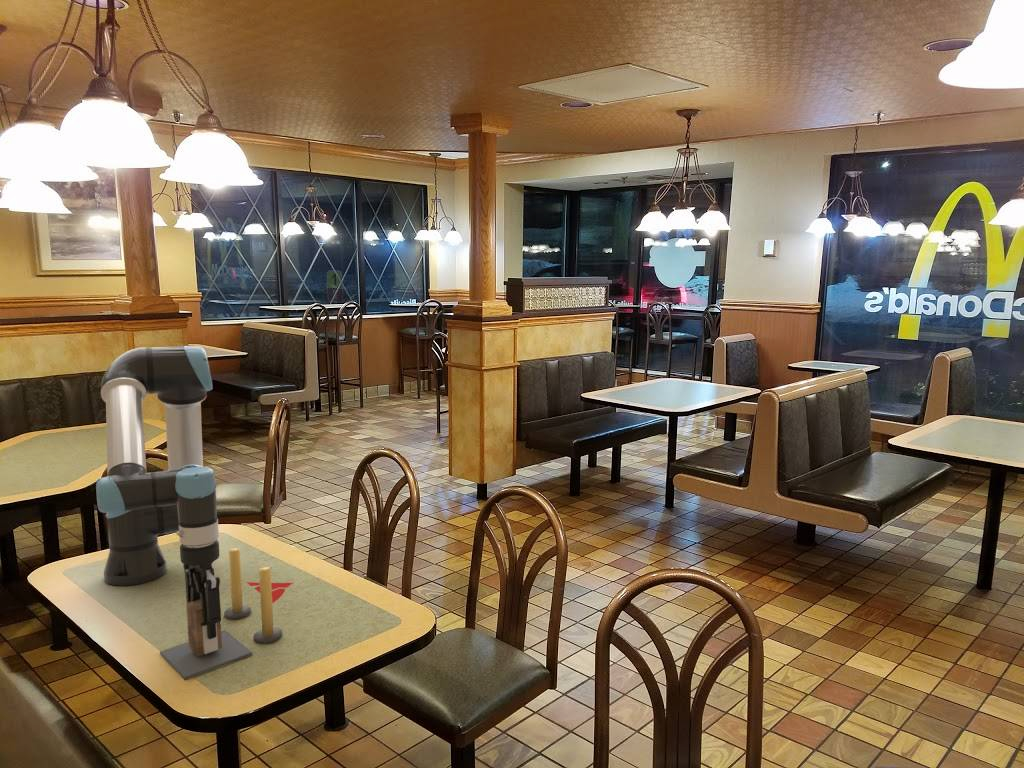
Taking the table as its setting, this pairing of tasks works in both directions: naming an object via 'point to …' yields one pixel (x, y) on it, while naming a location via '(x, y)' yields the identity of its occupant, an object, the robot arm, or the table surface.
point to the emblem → (276, 593)
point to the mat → (204, 656)
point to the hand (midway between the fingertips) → (205, 645)
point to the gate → (241, 611)
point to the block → (198, 627)
